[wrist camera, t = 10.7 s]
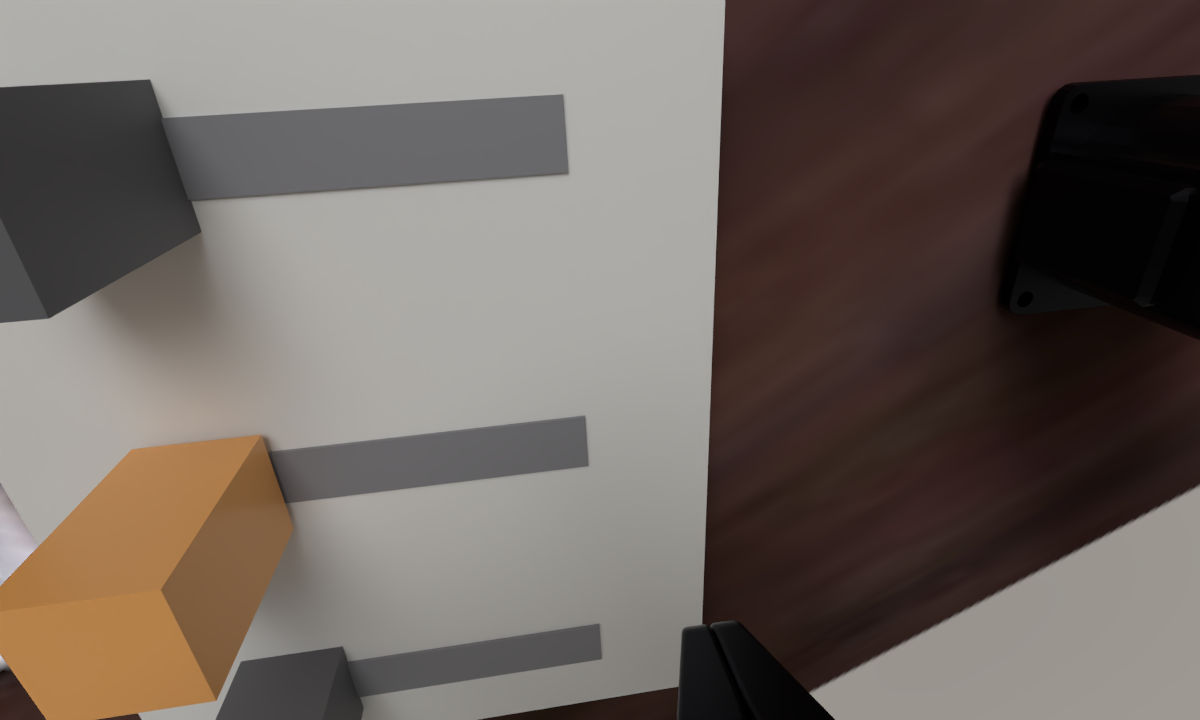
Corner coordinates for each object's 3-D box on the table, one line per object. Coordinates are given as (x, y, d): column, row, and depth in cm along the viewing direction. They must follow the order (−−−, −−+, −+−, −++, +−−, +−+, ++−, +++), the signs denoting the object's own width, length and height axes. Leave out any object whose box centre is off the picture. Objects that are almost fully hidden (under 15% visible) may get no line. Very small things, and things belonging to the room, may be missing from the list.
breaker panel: (698, -23, 14) (851, -87, 8) (685, 637, 24) (749, 838, 18) (-172, 13, 12) (-859, -36, 6) (198, 712, 22) (78, 968, 16)
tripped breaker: (261, 434, 15) (160, 589, 11) (293, 528, 17) (216, 701, 12) (131, 449, 15) (-27, 614, 10) (175, 543, 16) (51, 725, 12)
